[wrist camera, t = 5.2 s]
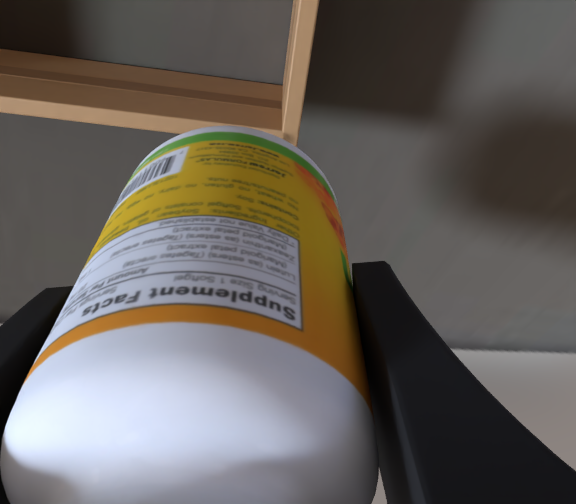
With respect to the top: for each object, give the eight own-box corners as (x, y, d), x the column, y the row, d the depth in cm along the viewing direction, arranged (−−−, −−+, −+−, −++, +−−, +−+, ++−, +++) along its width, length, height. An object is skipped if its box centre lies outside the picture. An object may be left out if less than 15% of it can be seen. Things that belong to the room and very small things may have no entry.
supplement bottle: (318, 307, 15) (354, 795, 7) (130, 287, 14) (-60, 788, 6) (361, 136, 11) (524, 687, 4) (122, 102, 11) (-281, 655, 3)
